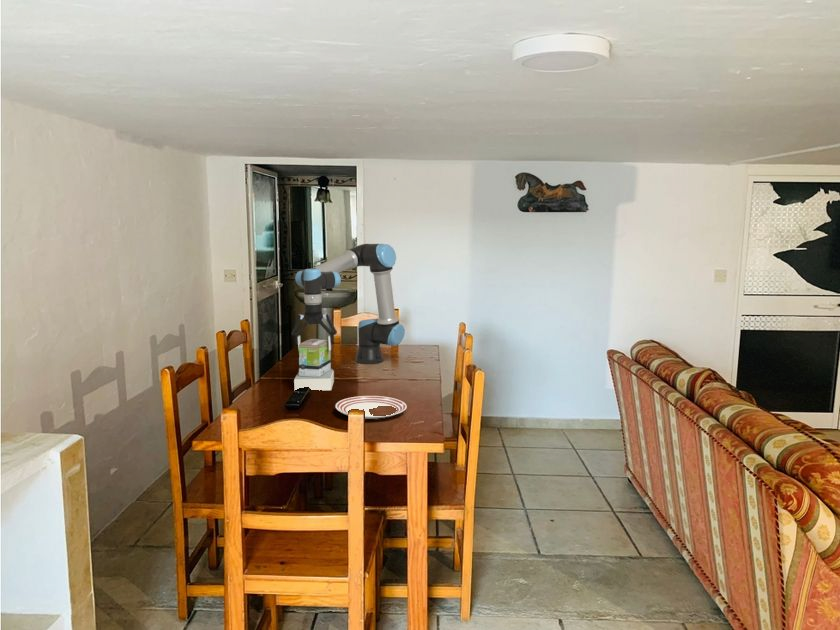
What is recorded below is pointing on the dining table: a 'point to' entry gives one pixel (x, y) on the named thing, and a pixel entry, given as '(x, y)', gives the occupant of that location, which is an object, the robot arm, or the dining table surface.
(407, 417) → the dining table surface
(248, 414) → the dining table surface
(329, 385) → the plinth
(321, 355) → the tea box
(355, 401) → the dinner plate
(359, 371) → the dining table surface
